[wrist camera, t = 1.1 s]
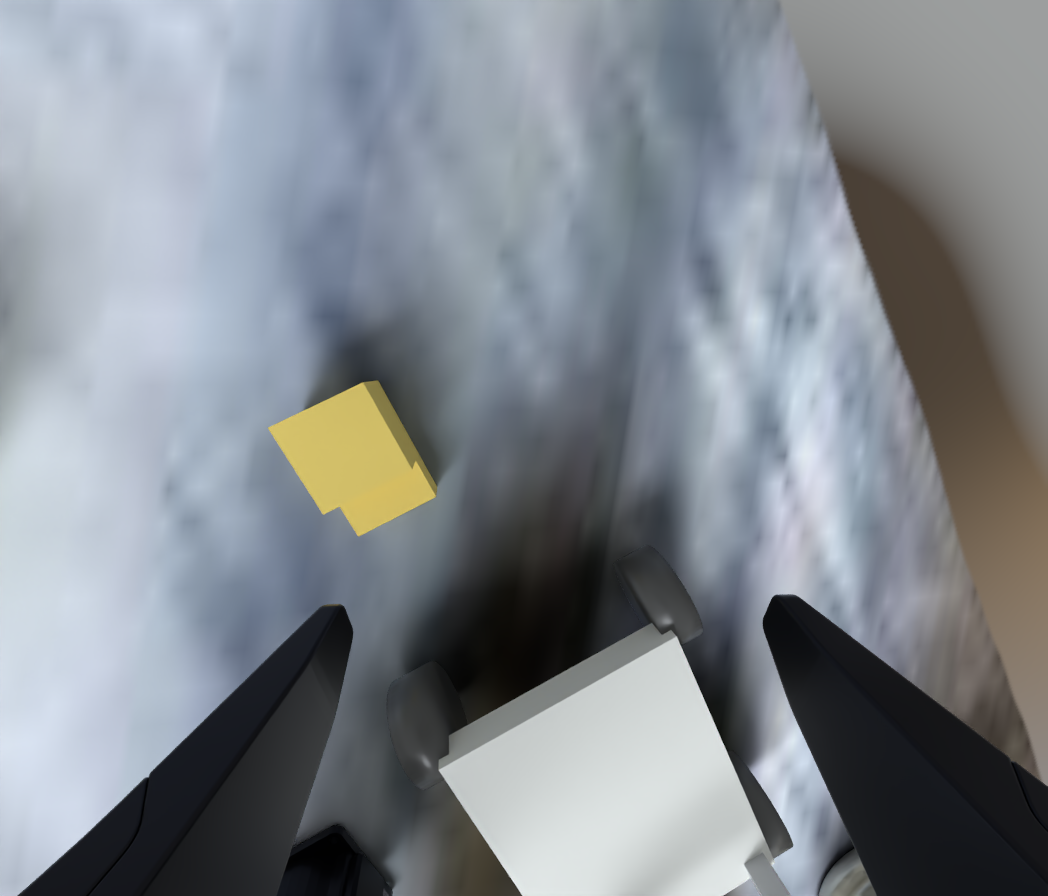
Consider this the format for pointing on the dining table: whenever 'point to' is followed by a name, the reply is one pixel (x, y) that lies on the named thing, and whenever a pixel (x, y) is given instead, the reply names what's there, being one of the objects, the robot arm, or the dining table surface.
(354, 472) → the yellow step block
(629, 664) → the trolley
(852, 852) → the teapot
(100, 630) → the dining table surface
